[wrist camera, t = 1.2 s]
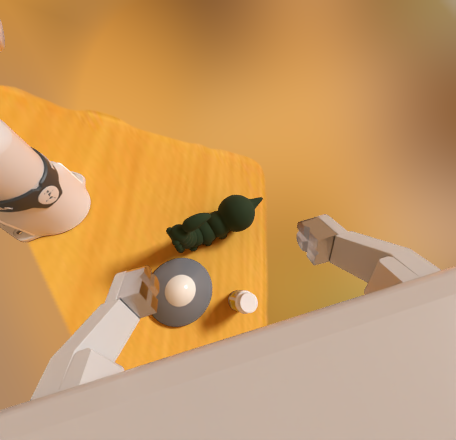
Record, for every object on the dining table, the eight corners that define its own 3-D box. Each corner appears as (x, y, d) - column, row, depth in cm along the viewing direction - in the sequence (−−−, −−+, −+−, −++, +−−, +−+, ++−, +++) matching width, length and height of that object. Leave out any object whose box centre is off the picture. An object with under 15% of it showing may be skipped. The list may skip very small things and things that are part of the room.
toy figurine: (185, 265, 47) (261, 222, 55) (180, 258, 29) (293, 195, 37) (168, 234, 49) (244, 196, 56) (154, 210, 31) (268, 159, 38)
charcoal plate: (132, 310, 40) (131, 311, 39) (167, 248, 46) (166, 248, 45) (195, 336, 41) (196, 337, 40) (220, 272, 47) (221, 272, 46)
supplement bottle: (243, 313, 45) (256, 318, 38) (225, 307, 45) (235, 311, 37) (247, 293, 47) (261, 294, 39) (231, 287, 46) (241, 287, 39)
